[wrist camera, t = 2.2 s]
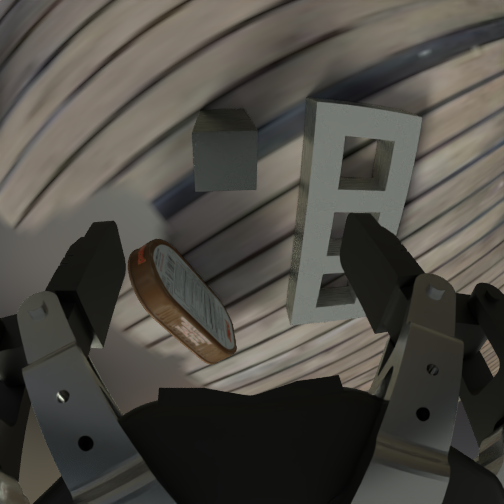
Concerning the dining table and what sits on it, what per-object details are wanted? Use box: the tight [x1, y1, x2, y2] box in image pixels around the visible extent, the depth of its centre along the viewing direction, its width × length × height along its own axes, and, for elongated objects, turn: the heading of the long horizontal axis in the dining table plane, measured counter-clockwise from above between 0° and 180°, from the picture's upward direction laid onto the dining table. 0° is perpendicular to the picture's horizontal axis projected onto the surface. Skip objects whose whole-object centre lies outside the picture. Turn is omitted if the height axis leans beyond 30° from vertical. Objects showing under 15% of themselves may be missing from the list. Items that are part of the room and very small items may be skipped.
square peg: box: [192, 109, 258, 192], centre depth 20 cm, size 4×4×9 cm
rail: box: [286, 97, 422, 325], centre depth 29 cm, size 10×24×3 cm, turn 178°
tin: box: [128, 239, 237, 364], centre depth 29 cm, size 15×3×8 cm, turn 29°
